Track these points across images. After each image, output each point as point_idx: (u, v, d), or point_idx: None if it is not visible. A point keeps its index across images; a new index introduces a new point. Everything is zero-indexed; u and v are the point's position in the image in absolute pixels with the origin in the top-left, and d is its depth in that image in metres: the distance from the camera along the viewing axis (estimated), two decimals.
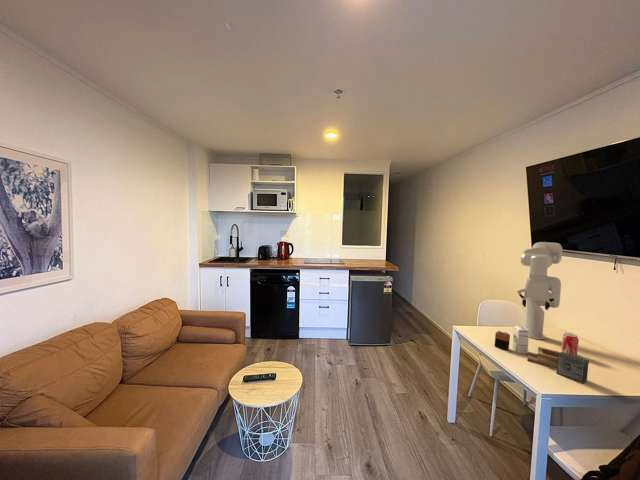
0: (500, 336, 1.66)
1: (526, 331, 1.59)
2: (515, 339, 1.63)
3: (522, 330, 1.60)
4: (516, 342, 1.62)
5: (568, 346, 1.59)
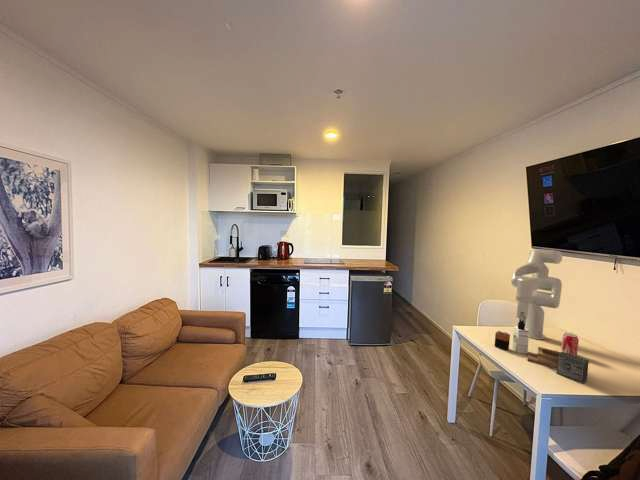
0: (500, 336, 1.66)
1: (526, 331, 1.59)
2: (515, 339, 1.63)
3: (522, 330, 1.60)
4: (516, 342, 1.62)
5: (568, 346, 1.59)
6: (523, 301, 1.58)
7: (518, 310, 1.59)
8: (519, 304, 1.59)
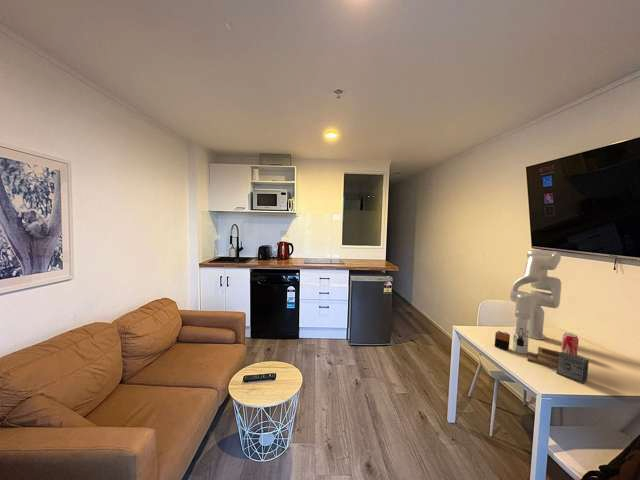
0: (500, 336, 1.66)
1: (526, 331, 1.59)
2: (515, 339, 1.63)
3: None
4: (516, 342, 1.62)
5: (568, 346, 1.59)
6: (522, 317, 1.59)
7: (517, 326, 1.60)
8: (518, 320, 1.59)
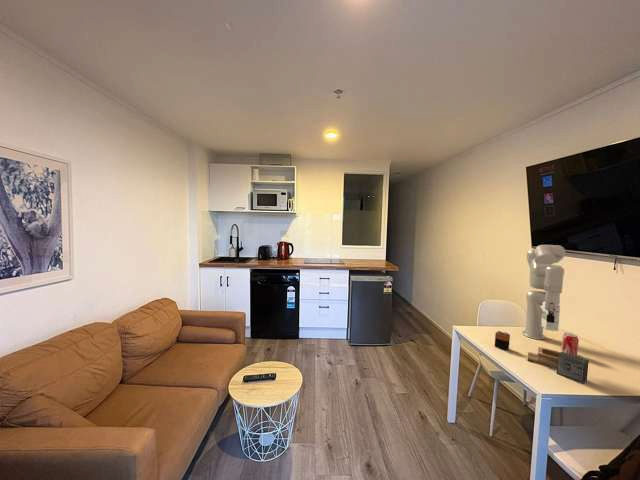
0: (500, 336, 1.66)
1: (557, 306, 1.46)
2: (544, 316, 1.50)
3: None
4: (545, 319, 1.49)
5: (568, 346, 1.59)
6: (552, 291, 1.46)
7: (547, 301, 1.47)
8: (548, 294, 1.46)
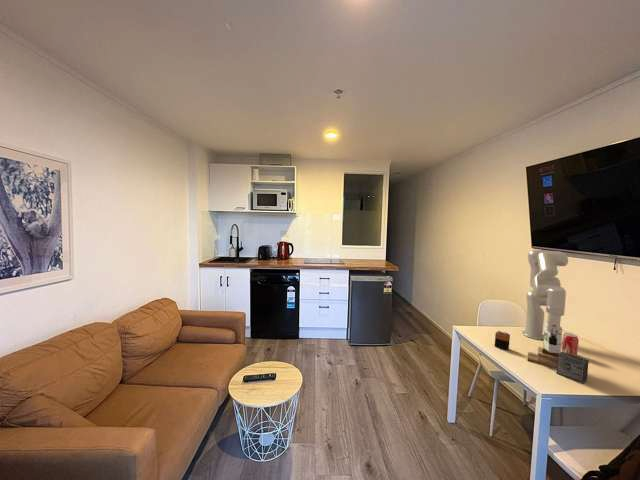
0: (500, 336, 1.66)
1: None
2: (546, 338, 1.49)
3: None
4: (548, 341, 1.48)
5: (568, 346, 1.59)
6: (555, 313, 1.45)
7: (549, 323, 1.46)
8: (550, 317, 1.46)
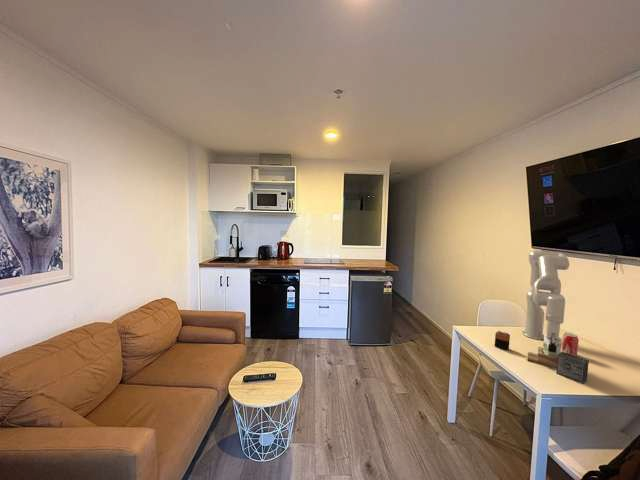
0: (500, 336, 1.66)
1: (558, 339, 1.46)
2: (545, 348, 1.50)
3: None
4: (547, 351, 1.49)
5: (568, 346, 1.59)
6: (554, 321, 1.45)
7: (548, 331, 1.46)
8: (549, 324, 1.46)
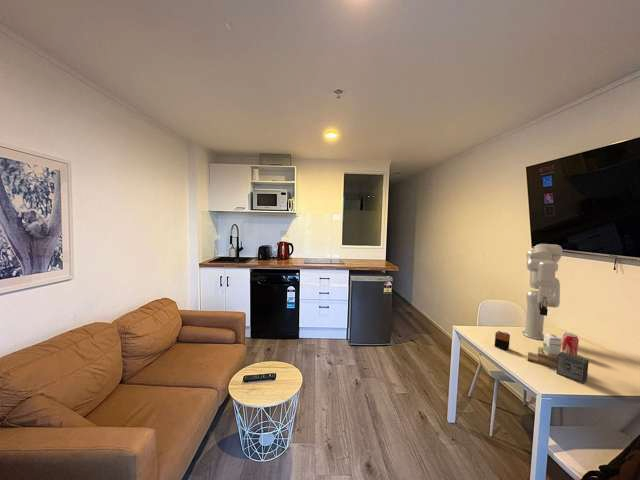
0: (500, 336, 1.66)
1: (558, 339, 1.46)
2: (545, 348, 1.50)
3: (553, 338, 1.46)
4: (546, 351, 1.49)
5: (568, 346, 1.59)
6: (545, 286, 1.50)
7: (540, 295, 1.51)
8: (541, 289, 1.51)
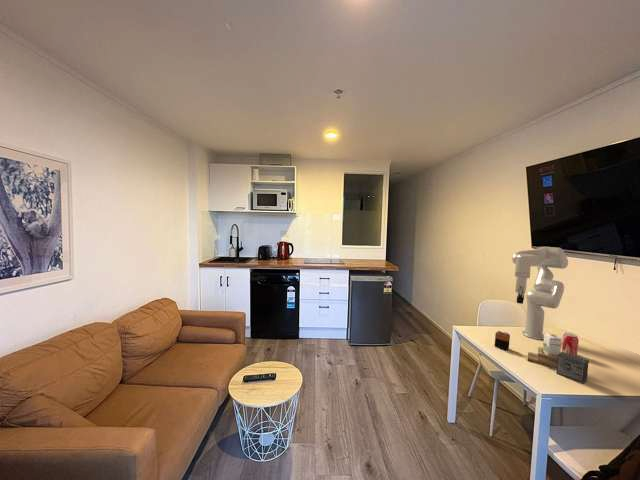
0: (500, 336, 1.66)
1: (558, 339, 1.46)
2: (545, 348, 1.50)
3: (553, 338, 1.46)
4: (546, 351, 1.49)
5: (568, 346, 1.59)
6: (521, 276, 1.65)
7: (517, 285, 1.66)
8: (518, 279, 1.66)
